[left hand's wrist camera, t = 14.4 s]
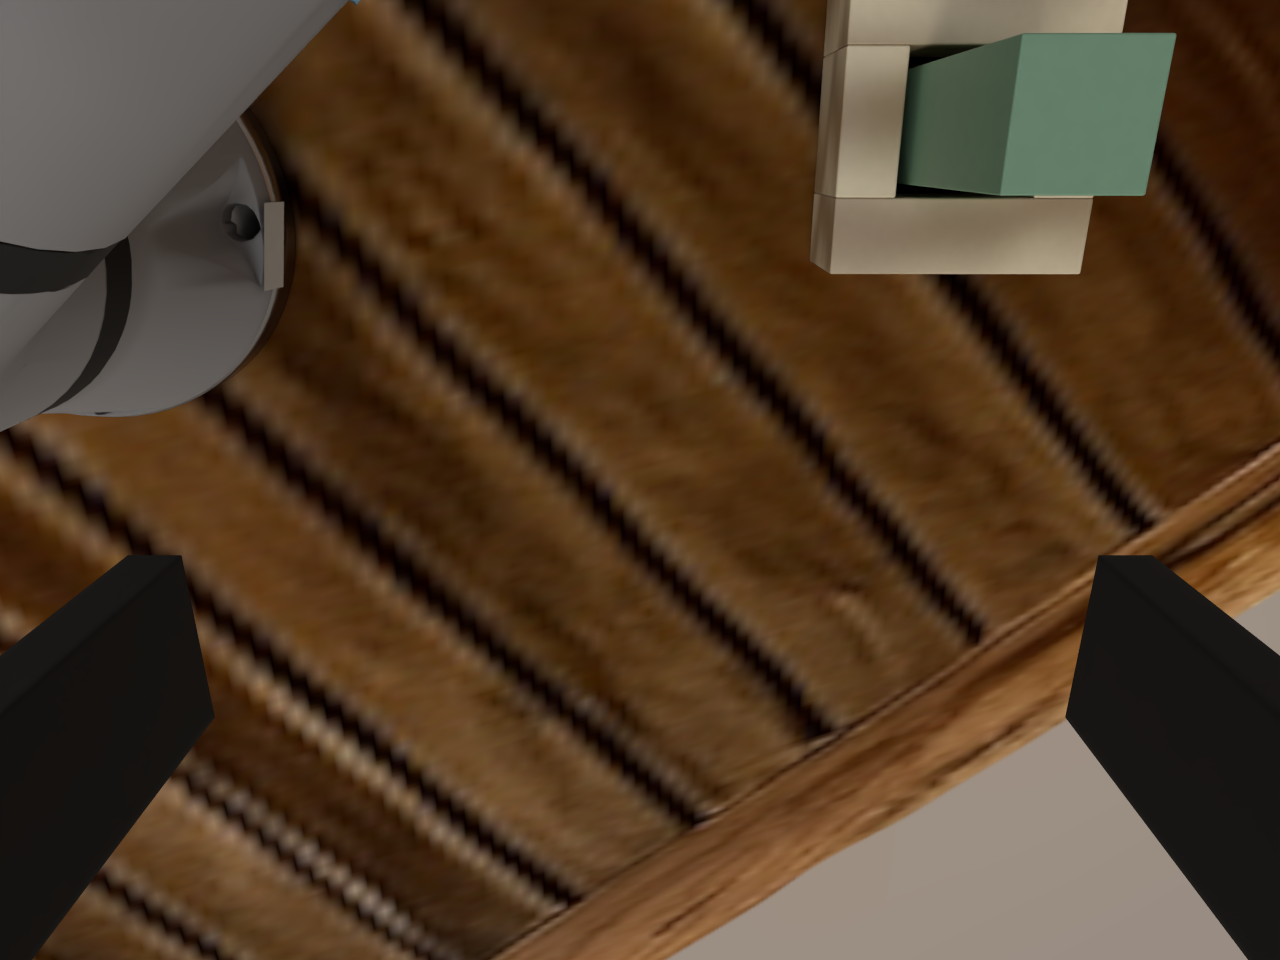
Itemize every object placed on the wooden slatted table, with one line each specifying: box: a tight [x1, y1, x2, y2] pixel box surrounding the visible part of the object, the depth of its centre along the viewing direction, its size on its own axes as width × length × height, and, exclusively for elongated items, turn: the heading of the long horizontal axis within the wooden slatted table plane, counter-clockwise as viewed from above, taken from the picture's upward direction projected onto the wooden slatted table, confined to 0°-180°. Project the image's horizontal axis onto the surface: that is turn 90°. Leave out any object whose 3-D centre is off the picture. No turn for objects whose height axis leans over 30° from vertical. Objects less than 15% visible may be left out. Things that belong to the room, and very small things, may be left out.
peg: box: [897, 33, 1176, 196], centre depth 28 cm, size 4×4×12 cm
